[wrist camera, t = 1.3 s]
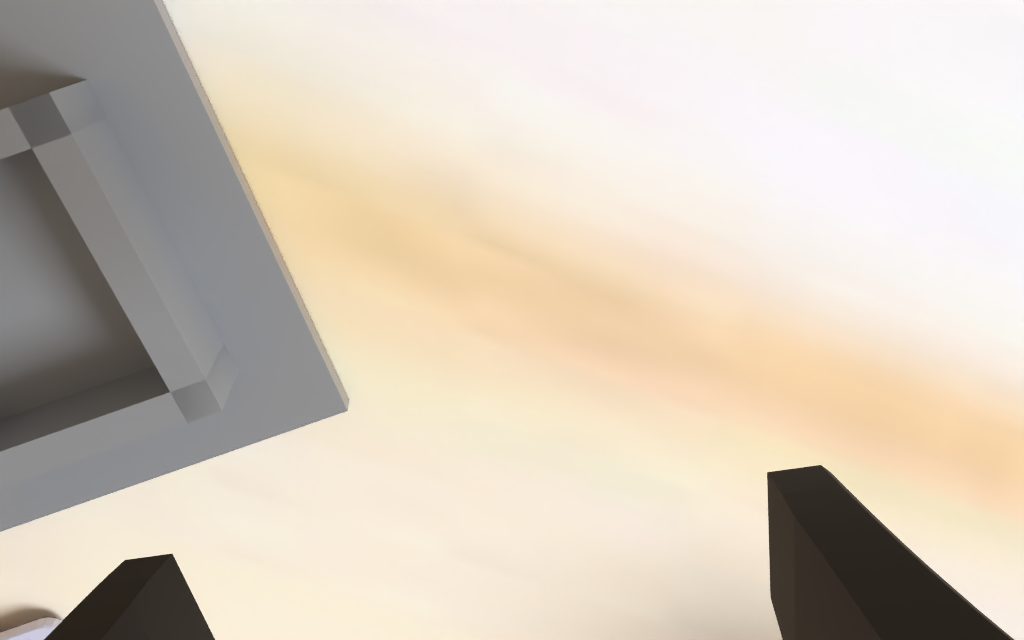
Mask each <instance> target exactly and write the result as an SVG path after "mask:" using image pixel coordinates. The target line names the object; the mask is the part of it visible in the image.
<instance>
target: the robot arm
mask: <svg viewBox="0 0 1024 640" xmlns="http://www.w3.org/2000/svg"><path fill="white" fill-rule="evenodd" d="M767 479H768V517H769V554H770V591H771V600H772V604H773V607H774V611H775V614H776V617H777V621H778V624H779V628H780V631H781V635H782V638H783V640H1014V639H1013V638H1011V637H1010V636H1009V635H1008V634H1007V633H1005V632H1004V631H1003V630H1002V629H1001V628H999V627H998V626H997V625H996V624H995V623H993V622H992V621H991V620H990V619H989V618H987V617H986V616H985V615H984V614H983V613H981V612H980V611H979V610H978V609H977V608H976V607H974V606H973V605H972V604H971V603H970V602H969V601H968V600H966V599H965V598H964V597H963V596H962V595H961V594H959V593H958V592H957V591H956V590H955V589H954V588H953V587H951V586H950V585H949V584H948V583H947V582H946V581H945V580H943V579H942V578H941V577H940V576H939V575H938V574H937V573H935V572H934V571H933V570H932V569H931V568H930V567H929V566H928V565H926V564H925V563H924V562H923V561H922V560H921V559H920V558H919V557H918V556H917V555H915V554H914V553H913V552H912V551H911V550H910V549H909V548H908V547H907V546H906V545H905V544H904V543H902V542H901V541H900V540H899V539H898V538H897V537H896V536H895V535H894V534H893V533H892V532H891V531H890V530H889V529H888V528H887V527H885V526H884V525H883V524H882V523H881V522H880V521H879V520H878V519H877V518H876V517H875V516H874V515H873V514H872V513H871V512H870V511H869V510H868V509H867V508H866V507H865V506H864V505H863V504H862V503H861V502H860V501H859V500H858V499H857V498H856V497H855V496H854V495H853V494H852V493H851V492H850V491H849V490H848V489H847V488H846V487H845V486H844V485H843V484H842V483H841V482H840V481H839V480H838V479H837V478H836V477H835V476H834V475H833V474H832V473H831V472H829V471H828V470H827V469H825V468H824V467H823V466H821V465H818V466H811V467H804V468H796V469H789V470H782V471H774V472H767ZM0 640H215V639H214V637H213V635H212V633H211V631H210V629H209V627H208V625H207V623H206V621H205V619H204V617H203V615H202V613H201V611H200V609H199V607H198V605H197V603H196V601H195V599H194V597H193V595H192V593H191V591H190V589H189V587H188V584H187V582H186V580H185V578H184V576H183V574H182V572H181V570H180V568H179V566H178V564H177V562H176V560H175V558H174V556H173V554H167V555H159V556H152V557H145V558H137V559H130V560H125V561H124V562H122V563H121V564H120V565H119V566H118V567H117V568H116V569H115V570H114V571H113V572H111V573H110V574H109V575H108V576H107V577H106V578H105V579H104V580H103V581H102V582H101V583H100V584H99V585H98V586H97V587H96V588H95V589H94V590H93V591H92V592H91V593H90V594H89V595H88V596H87V597H86V598H85V599H84V600H83V601H82V602H81V603H80V604H79V605H78V606H77V607H76V608H75V609H74V610H73V611H72V612H71V613H70V614H69V615H68V616H67V617H66V618H65V619H64V620H63V621H61V620H59V619H57V618H50V617H47V618H41V619H38V620H35V621H32V622H29V623H26V624H24V625H21V626H18V627H15V628H12V629H9V630H6V631H3V632H0Z"/></svg>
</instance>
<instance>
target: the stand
mask: <svg viewBox="0 0 1024 640" xmlns="http://www.w3.org/2000/svg"><path fill="white" fill-rule="evenodd" d="M348 404H349V398H348V396H347V394H346V392H345V390H344V387H343V385H342V383H341V381H340V379H339V377H338V375H337V372H336V370H335V368H334V366H333V364H332V362H331V360H330V357H329V355H328V353H327V351H326V349H325V347H324V345H323V343H322V340H321V338H320V336H319V334H318V332H317V330H316V328H315V325H314V323H313V321H312V319H311V317H310V315H309V313H308V310H307V308H306V306H305V304H304V302H303V300H302V298H301V296H300V293H299V291H298V289H297V287H296V285H295V283H294V281H293V278H292V276H291V274H290V272H289V270H288V268H287V266H286V263H285V261H284V259H283V257H282V255H281V253H280V251H279V249H278V246H277V244H276V242H275V240H274V238H273V236H272V234H271V231H270V229H269V227H268V225H267V223H266V221H265V219H264V216H263V214H262V212H261V210H260V208H259V206H258V204H257V202H256V199H255V197H254V195H253V193H252V191H251V189H250V187H249V184H248V182H247V180H246V178H245V176H244V174H243V172H242V169H241V167H240V165H239V163H238V161H237V159H236V157H235V155H234V152H233V150H232V148H231V146H230V144H229V142H228V140H227V137H226V135H225V133H224V131H223V129H222V127H221V125H220V122H219V120H218V118H217V116H216V114H215V112H214V110H213V108H212V105H211V103H210V101H209V99H208V97H207V95H206V93H205V90H204V88H203V86H202V84H201V82H200V80H199V78H198V75H197V73H196V71H195V69H194V67H193V65H192V63H191V61H190V58H189V56H188V54H187V52H186V50H185V48H184V46H183V43H182V41H181V39H180V37H179V35H178V33H177V31H176V28H175V26H174V24H173V22H172V20H171V18H170V16H169V14H168V11H167V9H166V7H165V5H164V3H163V1H162V0H0V532H1V531H4V530H6V529H9V528H12V527H15V526H18V525H21V524H24V523H27V522H29V521H32V520H35V519H38V518H41V517H44V516H47V515H49V514H52V513H55V512H58V511H61V510H64V509H67V508H70V507H72V506H75V505H78V504H81V503H84V502H87V501H90V500H93V499H95V498H98V497H101V496H104V495H107V494H110V493H113V492H116V491H118V490H121V489H124V488H127V487H130V486H133V485H136V484H138V483H141V482H144V481H147V480H150V479H153V478H156V477H159V476H161V475H164V474H167V473H170V472H173V471H176V470H179V469H182V468H184V467H187V466H190V465H193V464H196V463H199V462H202V461H205V460H207V459H210V458H213V457H216V456H219V455H222V454H225V453H228V452H230V451H233V450H236V449H239V448H242V447H245V446H248V445H250V444H253V443H256V442H259V441H262V440H265V439H268V438H271V437H273V436H276V435H279V434H282V433H285V432H288V431H291V430H294V429H296V428H299V427H302V426H305V425H308V424H311V423H314V422H317V421H319V420H322V419H325V418H328V417H331V416H334V415H337V414H340V413H342V412H345V411H348Z"/></svg>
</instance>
